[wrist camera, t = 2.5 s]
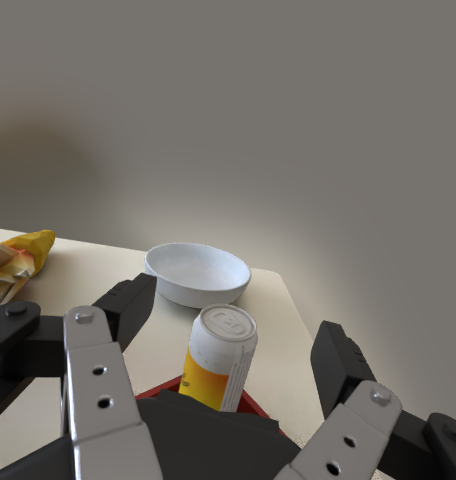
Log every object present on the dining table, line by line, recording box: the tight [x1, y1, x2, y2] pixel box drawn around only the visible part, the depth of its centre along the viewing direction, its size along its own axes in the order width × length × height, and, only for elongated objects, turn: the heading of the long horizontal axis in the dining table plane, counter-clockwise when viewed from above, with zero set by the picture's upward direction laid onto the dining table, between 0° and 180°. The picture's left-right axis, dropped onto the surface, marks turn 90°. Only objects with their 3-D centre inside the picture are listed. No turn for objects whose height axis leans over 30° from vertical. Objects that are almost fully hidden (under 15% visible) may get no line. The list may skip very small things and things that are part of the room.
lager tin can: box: [179, 304, 258, 412], centre depth 28 cm, size 6×6×15 cm
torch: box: [0, 230, 55, 305], centre depth 49 cm, size 8×8×25 cm
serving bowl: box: [144, 243, 251, 308], centre depth 57 cm, size 21×21×7 cm
